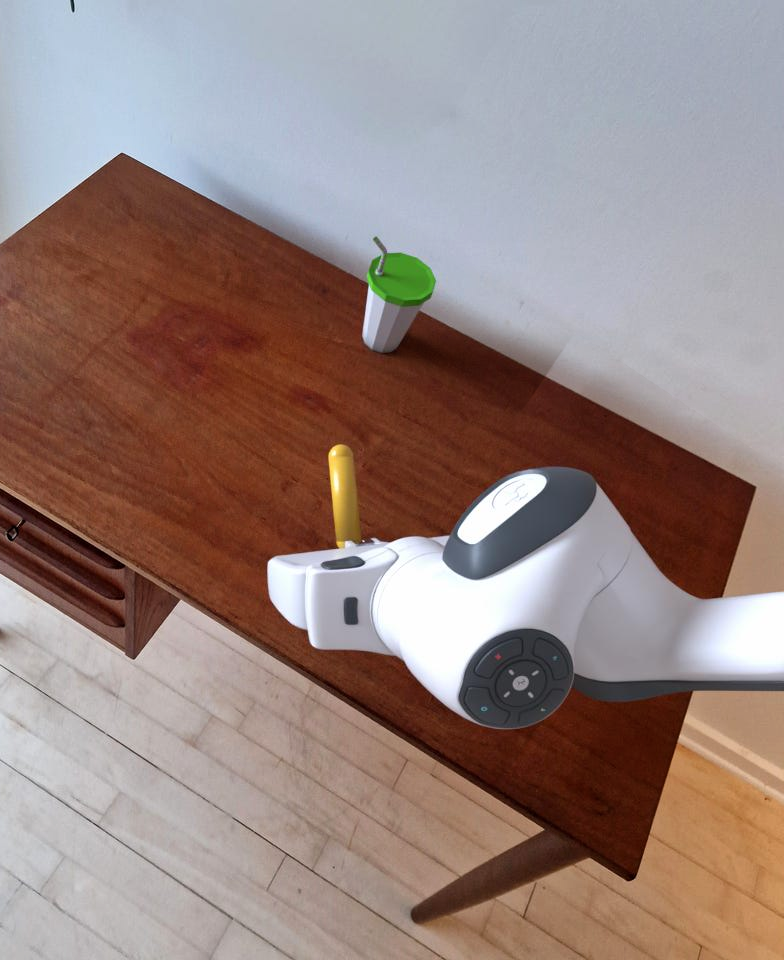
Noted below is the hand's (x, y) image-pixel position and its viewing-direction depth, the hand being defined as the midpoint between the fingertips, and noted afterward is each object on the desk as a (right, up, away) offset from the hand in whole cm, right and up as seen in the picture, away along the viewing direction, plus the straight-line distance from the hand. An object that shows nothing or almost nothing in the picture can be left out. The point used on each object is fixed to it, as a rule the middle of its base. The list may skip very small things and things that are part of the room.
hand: (359, 547), depth 78 cm
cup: (+4, +23, +25) cm, 34 cm away
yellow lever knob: (0, -4, +2) cm, 5 cm away
